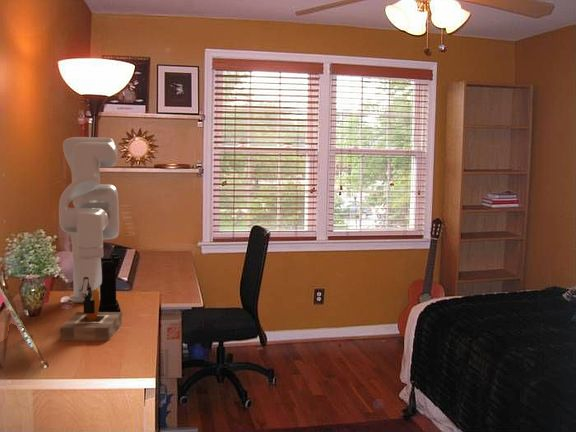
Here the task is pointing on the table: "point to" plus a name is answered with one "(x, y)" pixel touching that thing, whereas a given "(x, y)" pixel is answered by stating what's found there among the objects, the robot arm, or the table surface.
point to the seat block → (91, 327)
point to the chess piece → (109, 285)
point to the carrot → (96, 297)
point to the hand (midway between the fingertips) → (91, 309)
